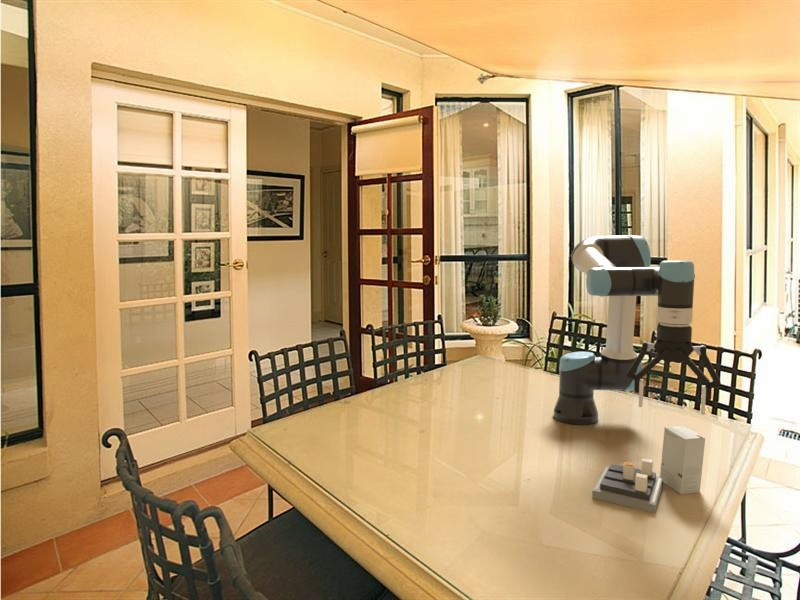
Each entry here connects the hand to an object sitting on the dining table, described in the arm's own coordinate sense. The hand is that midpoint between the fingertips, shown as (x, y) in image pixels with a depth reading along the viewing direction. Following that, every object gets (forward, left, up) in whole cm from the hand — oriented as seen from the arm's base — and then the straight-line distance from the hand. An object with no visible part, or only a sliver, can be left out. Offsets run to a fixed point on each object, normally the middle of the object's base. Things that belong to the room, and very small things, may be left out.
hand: (670, 409), depth 128 cm
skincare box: (+3, +5, -22) cm, 23 cm away
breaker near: (-5, -9, -18) cm, 21 cm away
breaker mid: (-8, -4, -18) cm, 20 cm away
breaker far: (-5, +1, -18) cm, 19 cm away
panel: (-8, -4, -22) cm, 24 cm away
